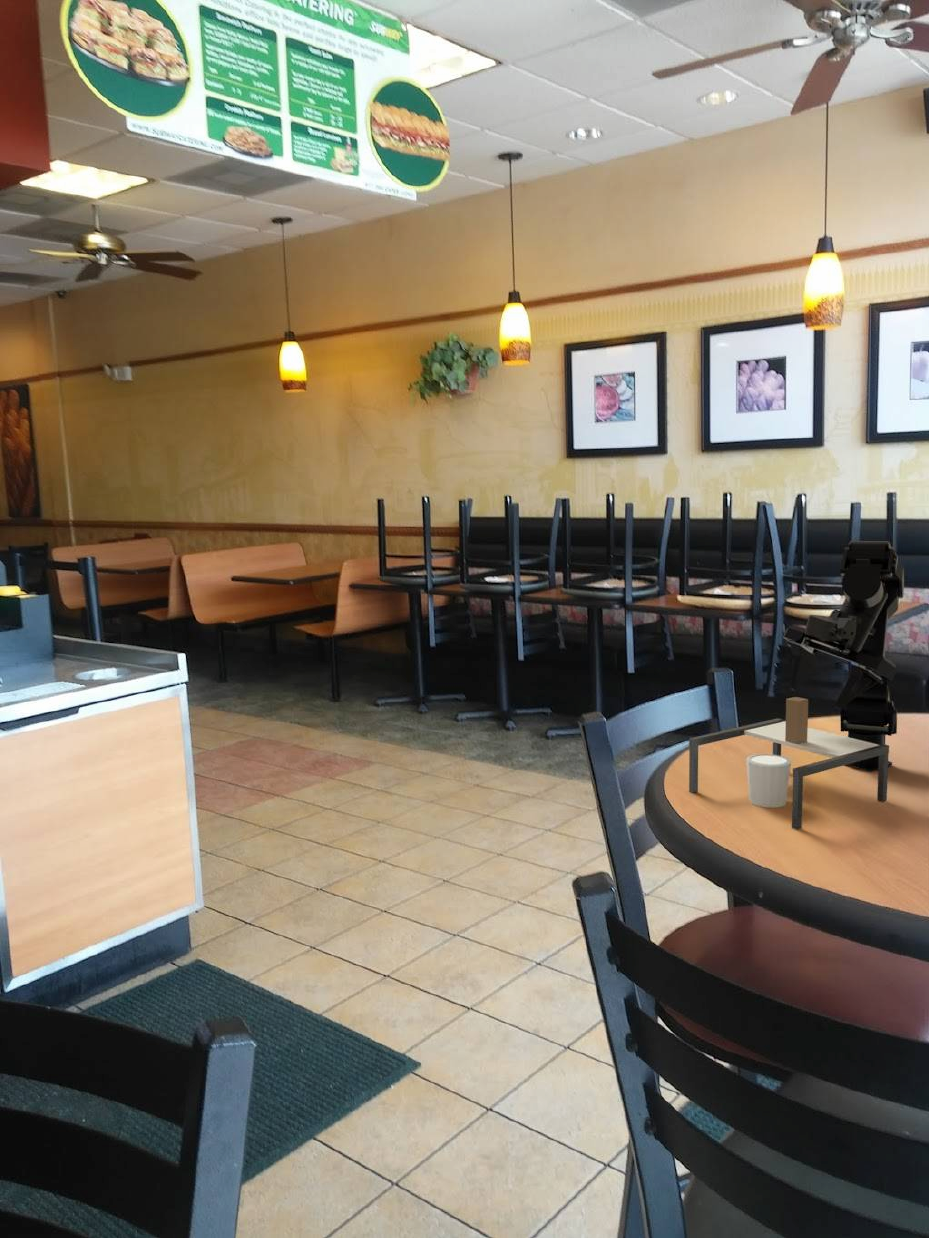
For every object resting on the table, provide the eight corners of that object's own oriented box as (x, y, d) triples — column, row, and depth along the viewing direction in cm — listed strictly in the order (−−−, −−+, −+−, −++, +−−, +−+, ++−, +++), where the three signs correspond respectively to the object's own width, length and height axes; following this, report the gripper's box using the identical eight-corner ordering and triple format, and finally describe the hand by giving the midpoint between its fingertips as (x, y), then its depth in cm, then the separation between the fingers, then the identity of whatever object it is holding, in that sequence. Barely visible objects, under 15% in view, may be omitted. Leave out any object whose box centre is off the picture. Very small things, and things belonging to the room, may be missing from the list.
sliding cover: (783, 724, 176) (784, 682, 174) (881, 749, 160) (882, 702, 158) (744, 734, 170) (744, 690, 169) (840, 760, 154) (842, 711, 153)
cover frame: (776, 768, 178) (777, 718, 177) (887, 800, 160) (889, 745, 158) (688, 791, 167) (689, 738, 165) (796, 829, 148) (798, 770, 147)
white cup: (792, 809, 157) (793, 766, 156) (747, 807, 158) (747, 764, 157) (787, 795, 163) (788, 753, 162) (744, 793, 165) (744, 752, 164)
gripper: (787, 581, 168) (744, 664, 168) (883, 609, 153) (836, 701, 153) (821, 606, 174) (780, 686, 174) (917, 636, 159) (872, 724, 159)
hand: (814, 698), depth 165 cm, fingers open, 9 cm apart
